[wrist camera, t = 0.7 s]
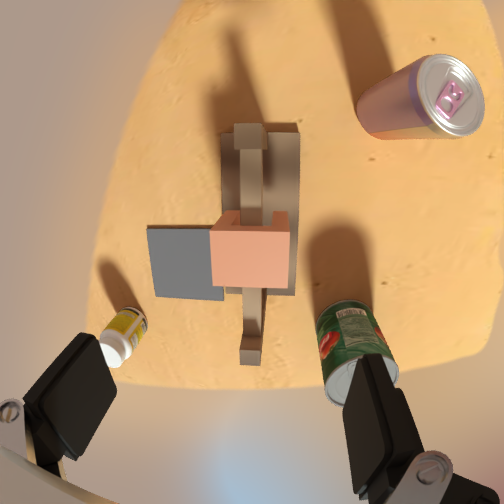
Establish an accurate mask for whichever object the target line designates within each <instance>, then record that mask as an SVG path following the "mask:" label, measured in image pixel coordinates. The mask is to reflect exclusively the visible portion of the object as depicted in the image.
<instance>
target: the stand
mask: <svg viewBox="0 0 504 504" xmlns="http://www.w3.org/2000/svg"><path fill="white" fill-rule="evenodd" d="M221 175H222V212H223V214H224V212H225V211H226V210H240V225H242V226H272V217H273V211H287V213H288V221H289V228H290V246H289V271H288V288H253V287H227V286H226V293H227V294H242V296H243V334H242V340H241V345H240V350H239V351H240V365H251V366H260V363H261V353H262V342H263V332H264V321H265V310H266V299H267V295H286V296H295V282H296V265H297V245H298V221H299V188H300V133H286V132H267V131H266V130H265V128H264V127H263V125H262V124H261V123H234V133H221Z"/></svg>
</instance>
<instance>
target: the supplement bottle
mask: <svg viewBox="0 0 504 504" xmlns="http://www.w3.org/2000/svg"><path fill="white" fill-rule="evenodd" d="M147 328H148V323H147V320H146V318H145V316H144V315H143V314H142V313H141V312H140V311H139V310H137V309H135V308H133V307H125V308H123V309H121V310H120V311H119V312H118V314H117V315H116V316H115V317H114V318H113V319H112V321H111V322H110V323H109V324H108V325H107V327H106V328H105V329H104V330H103V331H102V333H101V335H100V340H99V343H100V346H101V349H102V352H103V354H104V357H105V360H106V363H107V365H108V366H109V367H112V368H117V367H119V366H120V365H121V364H122V363H123V361H124V360H125V359H127V358H128V357H130V355H131V354H132V353H133V351H134V349H135V348H136V346H137V345H138V343H139V342H140V340H141V338H142V337H143V335H144V334H145V332H146V330H147Z"/></svg>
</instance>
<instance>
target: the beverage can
mask: <svg viewBox="0 0 504 504" xmlns="http://www.w3.org/2000/svg"><path fill="white" fill-rule="evenodd" d="M484 111H485V103H484V97H483V93H482V89H481V87H480V84H479V82H478V80H477V79H476V77H475V75H474V74H473V73H472V71H471V70H470V69H469V68H468V67H467V66H466V65H465V64H464V63H463V62H461V61H460V60H458V59H457V58H455V57H453V56H450V55H446V54H435V55H427V56H424V57H422V58H420V59H418V60H416V61H414V62H413V63H411V64H409V65H407V66H406V67H404V68H402V69H401V70H399V71H397V72H395V73H394V74H392V75H390V76H389V77H387V78H385V79H384V80H382V81H380V82H379V83H377V84H376V85H374V86H372V87H371V88H369V89H368V90H366V91H365V92H364V93H362V95H361V96H360V98H359V100H358V103H357V116H358V119H359V122H360V124H361V125H362V127H363V128H364V129H365V131H366V132H367V133H369V134H370V135H371V136H373V137H375V138H378V139H381V140H399V139H459V138H462V137H464V136H468V135H471V134H472V133H474V132H475V131H476V130H477V129H478V128H479V127H480V125H481V123H482V121H483V117H484Z"/></svg>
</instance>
